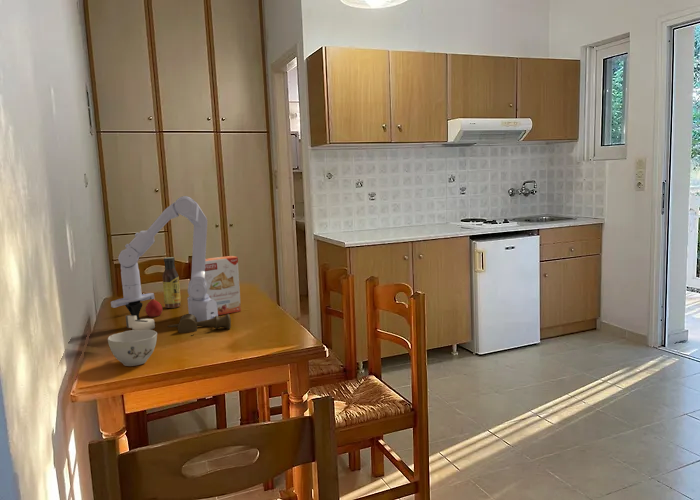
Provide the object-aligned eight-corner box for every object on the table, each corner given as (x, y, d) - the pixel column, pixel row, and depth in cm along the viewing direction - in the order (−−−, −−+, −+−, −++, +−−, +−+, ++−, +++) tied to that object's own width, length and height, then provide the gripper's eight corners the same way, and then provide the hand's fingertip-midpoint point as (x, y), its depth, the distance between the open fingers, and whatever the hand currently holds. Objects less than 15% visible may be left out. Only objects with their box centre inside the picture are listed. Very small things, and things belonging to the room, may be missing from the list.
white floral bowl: (162, 365, 148) (159, 336, 147) (112, 374, 142) (108, 344, 141) (154, 350, 161) (152, 324, 160) (108, 358, 155) (105, 331, 154)
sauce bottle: (178, 308, 216) (173, 258, 213) (162, 309, 216) (157, 259, 213) (183, 304, 222) (179, 256, 220) (168, 305, 222) (163, 256, 220)
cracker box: (206, 318, 198) (201, 260, 195) (200, 315, 202) (195, 259, 200) (242, 311, 206) (238, 256, 203) (235, 308, 211) (231, 254, 208)
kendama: (231, 333, 178) (167, 339, 173) (230, 327, 187) (169, 332, 182) (231, 315, 177) (165, 320, 172) (229, 309, 187) (168, 314, 182)
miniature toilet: (159, 326, 183) (158, 314, 183) (143, 332, 177) (142, 319, 177) (136, 324, 188) (135, 312, 187) (120, 329, 181) (118, 317, 181)
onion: (142, 320, 198) (140, 299, 197) (155, 316, 204) (153, 295, 203) (154, 322, 196) (152, 300, 195) (166, 318, 201) (164, 296, 200)
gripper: (144, 279, 192) (148, 317, 193) (104, 287, 180) (109, 327, 182) (156, 281, 187) (160, 320, 189) (115, 289, 176) (120, 330, 178)
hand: (135, 323), depth 185 cm, fingers closed, pressing on miniature toilet
